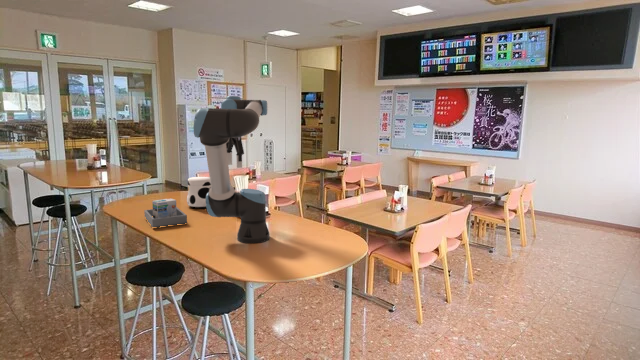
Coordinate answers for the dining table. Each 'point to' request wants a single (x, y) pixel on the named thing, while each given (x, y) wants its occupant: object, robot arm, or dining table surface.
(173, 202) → the light bulb box
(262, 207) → the robot arm
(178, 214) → the grey bin
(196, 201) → the milk container
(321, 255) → the dining table surface
